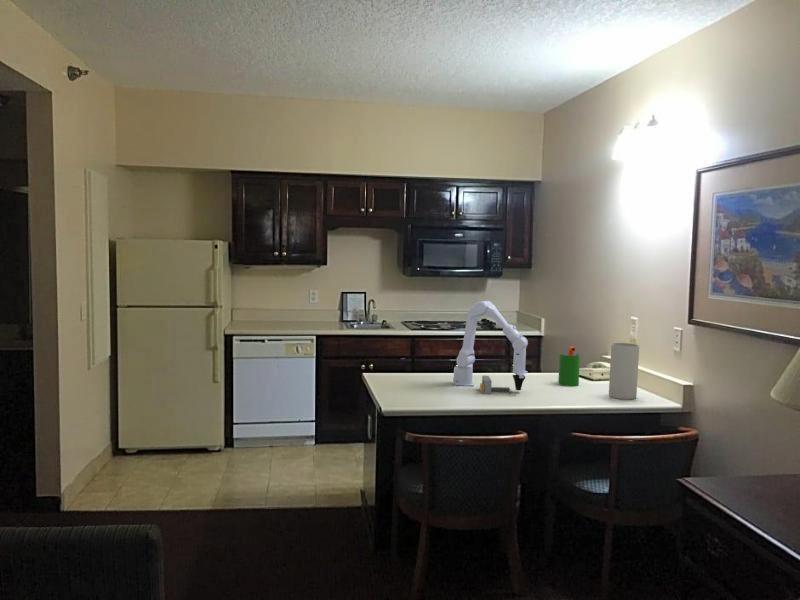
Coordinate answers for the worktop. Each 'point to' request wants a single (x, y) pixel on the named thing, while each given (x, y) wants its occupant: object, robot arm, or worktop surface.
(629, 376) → the cylinder vase
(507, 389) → the plug
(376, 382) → the worktop surface
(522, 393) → the worktop surface
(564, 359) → the green upright cylinder
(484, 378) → the bracket
